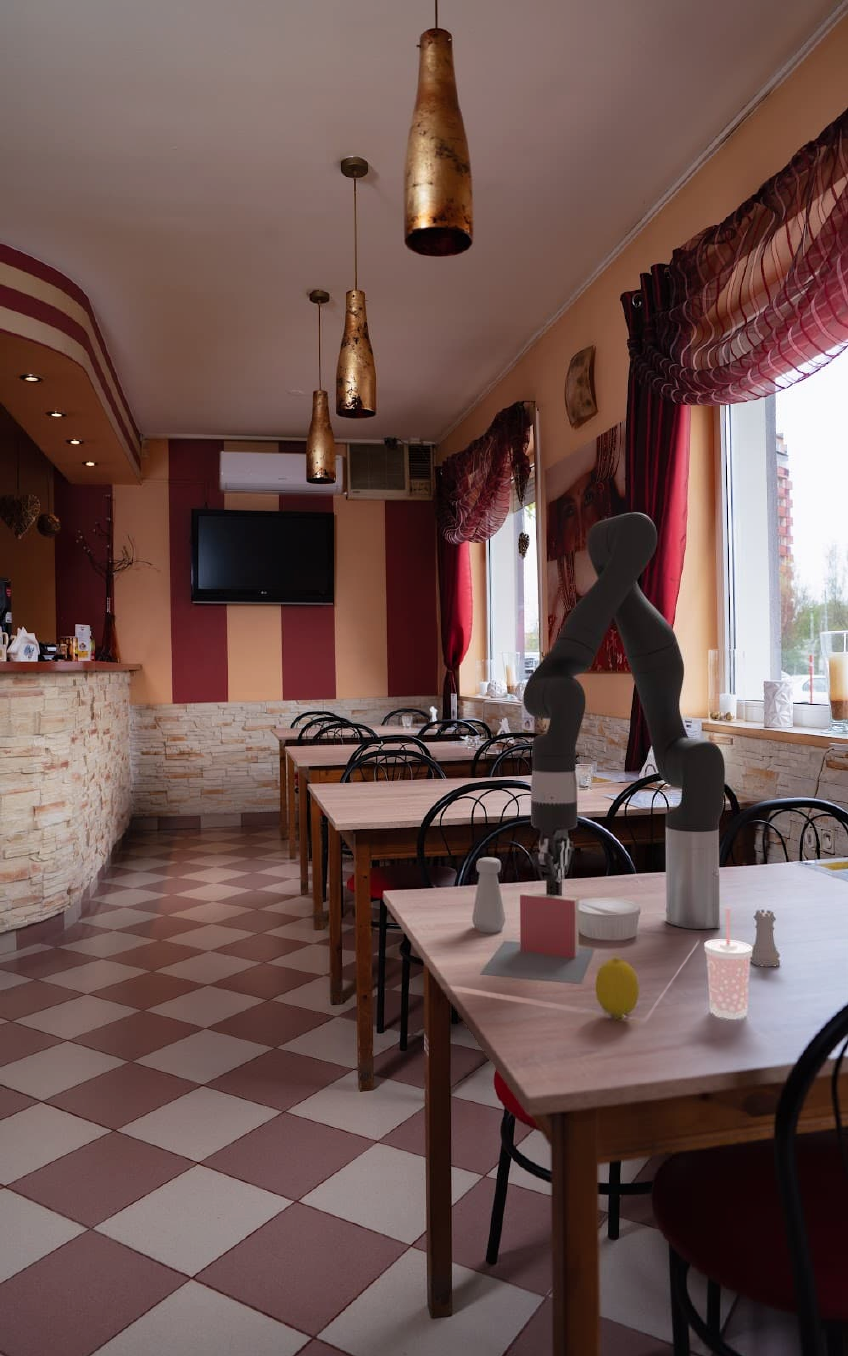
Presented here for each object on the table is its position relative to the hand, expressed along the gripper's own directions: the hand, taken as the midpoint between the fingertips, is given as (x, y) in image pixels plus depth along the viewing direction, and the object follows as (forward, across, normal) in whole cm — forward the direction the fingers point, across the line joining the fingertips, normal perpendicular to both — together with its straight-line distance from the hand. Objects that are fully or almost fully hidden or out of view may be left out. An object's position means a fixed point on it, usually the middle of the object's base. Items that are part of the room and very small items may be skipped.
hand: (554, 903), depth 145 cm
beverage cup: (+8, -15, -30) cm, 34 cm away
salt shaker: (+8, +4, +14) cm, 16 cm away
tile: (+7, -3, 0) cm, 8 cm away
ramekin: (+8, +12, -5) cm, 15 cm away
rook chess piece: (+8, +9, -31) cm, 33 cm away
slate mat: (+8, -8, 0) cm, 11 cm away
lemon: (+8, -23, -17) cm, 30 cm away
